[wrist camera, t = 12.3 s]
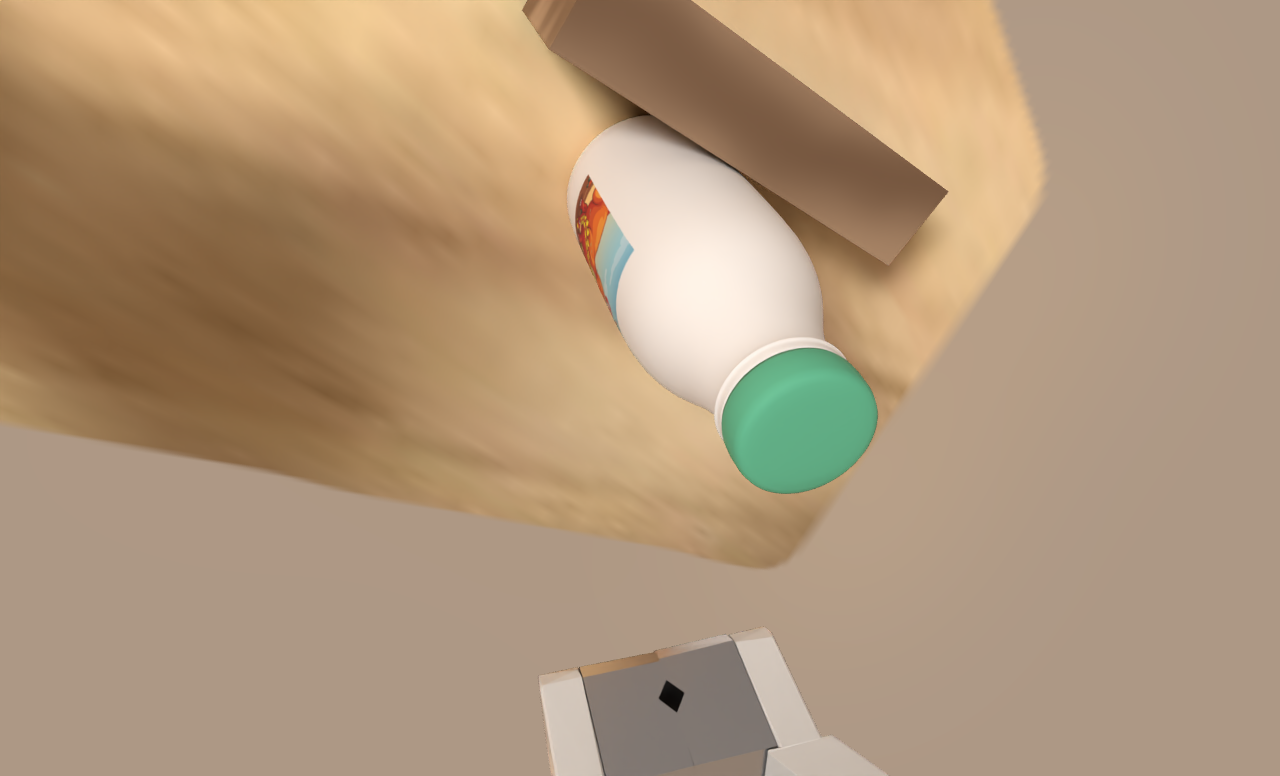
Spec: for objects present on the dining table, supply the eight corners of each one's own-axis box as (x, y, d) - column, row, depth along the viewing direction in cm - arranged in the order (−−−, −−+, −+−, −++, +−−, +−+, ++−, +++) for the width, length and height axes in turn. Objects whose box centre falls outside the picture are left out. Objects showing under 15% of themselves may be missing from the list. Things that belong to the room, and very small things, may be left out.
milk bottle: (594, 88, 37) (752, 300, 21) (743, 137, 40) (978, 353, 24) (543, 244, 41) (646, 524, 25) (683, 278, 44) (855, 547, 28)
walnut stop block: (823, 206, 44) (888, 265, 38) (522, 10, 35) (549, 49, 29) (873, 140, 42) (948, 191, 37) (572, -83, 33) (610, -60, 28)
